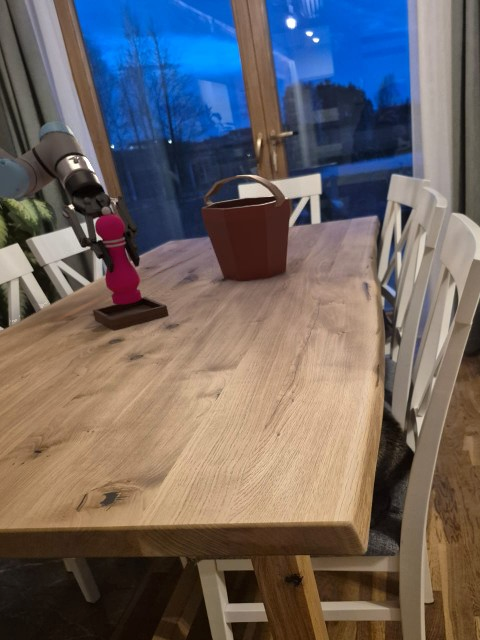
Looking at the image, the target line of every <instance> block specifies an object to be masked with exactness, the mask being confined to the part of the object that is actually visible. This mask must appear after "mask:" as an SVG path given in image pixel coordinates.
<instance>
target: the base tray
mask: <svg viewBox="0 0 480 640" xmlns="http://www.w3.org/2000/svg"><path fill="white" fill-rule="evenodd" d="M141 297H142V296H141ZM92 313H93V317H94V319H95V321H97V322H98V323H100V324H102V325H103V326H105V327H107V328H109V329H111V330H112V331H117V330H121V329H124V328H129V327H132V326H135V325H138V324H142V323H143V324H144V323H146V322H150V321H154V320H159V319H160V318H164V317H168V316H169V311H168V306H167V305H166V304H164V303H161V302H159V301H156V300H154V299H151V298H149V297H147V296H143V297H142V298H141V300H139V301H137V302H133V303H129V304H122V305H117V304H111V305H107V306H104V307H99V308H94V309H92Z"/></svg>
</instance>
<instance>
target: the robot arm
mask: <svg viewBox="0 0 480 640" xmlns="http://www.w3.org/2000/svg"><path fill="white" fill-rule="evenodd" d="M40 127H41V128H40V130H39V131H38V133H37V134H38V135H37V136H38V137H37V138H38V142H39V143H37V144H36V145H34V147H32V148H31V149H29V150H28V151H26V152H25V153H24V154H22V155H21V156H19V157H13V155H11V154H10V153H8V152H7V151H6V150H4V149H3V148H1V147H0V198H1V199H5V200H14V201H16V202H23V201H25V200H27V199H29V198H30V197H33V196H34V195H35V194H36V193H37V192H39V191H40V190H42V189H43V188H45V187H46V186H47V185H49V184H50V183H52V182H53V181H55V180H57V179H59V181H60V184H61V185H62V187H63V189H64V191H65V192H66V194H67V197H68V198H69V200H70V202H71V204H69V205H67V204H63V205H62V206H61V207H62V213H61V214H62V217H63V218H65V220H67V221H68V223H69V225H70V227H71V229H72V231H73V233H74V235H75V238H76V240H77V241H78V243H79V245H80V247H81V248H83V249H85V248H86V249H87V248H89V249H90V251H92V252H93V253H94V255H95V257H96V258H97V259H98V260H102V261H103V263H104V265H105V267H106V270H107V269H108V271H109V273H111V272H113V268H114V263H113V261H112V259H111V257H110V256H109V254H108V252H107V250H106V248H105V246H104V244H103V242H102V239H98V238H97V233H96V230H95V223H94V220H95V219H98V218H99V217H101V216H103V213H102V209H103V208H104V207H108V208H109V209H110V210H111V213H110V214H112V215H116V213H114V211H113V209H112V208H111V207H110V206H111V205H112V206H113V208H114V210H116V212H117V213H118V217H120V218H121V219H122V221H123V222H124V225H125V231H124V233H123V237H125V239H124V240H125V242H126V244H125V251H126V253H127V254H128V256H129V257H130V258H129V259H130V260H131V261H132V262H131V263H132V264H133V266H134V268H138V267H139V266H140V261H141V258H140V256H139V254H138V252H137V250H138V244H137V241H136V240H135V239H136V238H137V235H138V230H139V229H138V228H139V227H138V226H137V225H136V223H135V221H134V218H133V217H132V216H131V214H130V213H129V211H128V209H127V207H126V204H125V201H124V197H123V196H122V195H118V196H117V197H116V198H115V197H111V196H110V195H109V194H107V193H106V191H105V189H104V187H103V185H102V183H101V182H100V180H99V179H100V178H99V177H98V176H97V174H96V172H95V170H94V168H93V166H92V165H91V163H90V160H89V159H88V158H87V156H86V154H85V152H84V149H83V148H82V146H81V145H80V141H79V140H78V139H79V138H77V137H76V136H75V134H74V133H73V131H72V129H71V128H70V126H68V125H67V124H66V123H64V122H62V121H57V120H55V121H54V120H53V121H49V122H47V123H45V124H43V125H42V126H40ZM76 213H78V214H80V215H81V216H83V217H84V220H85V224H86V229H87V235H88V236H87V235H86V233H85V230H84V229H83V227H82V225H81V223H80V221H79V218H78V217H77V215H76Z"/></svg>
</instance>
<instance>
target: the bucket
mask: <svg viewBox="0 0 480 640" xmlns="http://www.w3.org/2000/svg"><path fill="white" fill-rule="evenodd" d="M237 179H248V180H251V181H252V182H256V183H258V185H259V184H260V185H261V186H263V187H264V188H266V189H267V190H268V191H269V192H270V194H272V195H265V196H251V197H242V198H235V199H229V200H223V201H217V202H212V201H211V200H210V198H211V197H213V196H214V195H216V194H218V192H219V191H220V190H221V189H222V187H223V186H224V185H225V184H226V183H229V182H231V181H233V180H237ZM203 201H204V205H205V206H202V207H201V208H200V210H201V218H202V221H203V224H204V227H205V230H206V232H207V235H208V238H209V241H210V244H211V246H212V249H213V253H214V254H215V257H216V260H217V263H218V265H219V268H220V271H221V273H222V277H223V278H224V279H227V280H232V281H238V282H243V281H252V280H253V281H254V280H263V279H270V278H271V277H274V276H277V275H279V274H282V273H284V272H286V271H287V258H288V247H289V246H288V245H289V244H288V243H289V242H288V241H289V232H290V219H291V205H290V198H289V197H287V196H285V195H284V193H283V192H282V190H281V189H280V188H279V187H278V186H277V185H276V184H274V183H273V182H271V181H270V180H268V179H266V178H264V177H262V176H259V175H256V174H241V175H234V176H230V177H227V178H223V179H221V180H218V181H215V182H214V184H213V185H212V186H211V188H210V189H209V191H207V193H206V194H205V195H204V196H203Z"/></svg>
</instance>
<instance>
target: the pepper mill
mask: <svg viewBox="0 0 480 640" xmlns="http://www.w3.org/2000/svg"><path fill="white" fill-rule="evenodd" d="M102 213H103V216H101V217H97V218H96V220H95V223H94V227H95V232H96V235H98V237H100V238H101V240H102V242H103V244H104V246H105V248H106V250H107V252H108V254H109V256H110V257H111V259H112V261H113V263H114V268H113V272H111V273H109V271H108V269H107V268H106V269H105V285H106V288H107V289H108V290H109V291H110V292H112V294H111V301H112V304H113V305H115V304H117V305H122V304H129V303H133V302H137V301H139V300H141V298H142V293H141V290H140V289H138V287H139V286H140V283H141V278H140V275H139V273H138V270H137V269H136V267H135V266H134V264H133V263H132V262H131V261H130V258H129V257H128V255H127V254H128V253H127V250H126V249H125V244H126V242H125V240H124V239H125V237H123V233H124V231H125V224H124V222H123V221H122V219H121V217H120V216H119V215H116V214H115V215H112V214H110V213H111V210H110V209H109V208H108V207H104V208H103V209H102Z"/></svg>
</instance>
